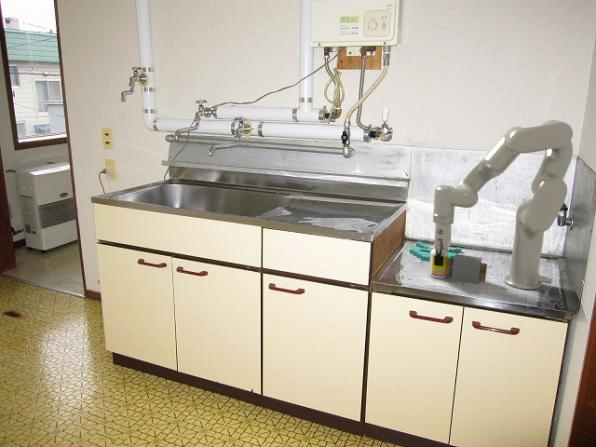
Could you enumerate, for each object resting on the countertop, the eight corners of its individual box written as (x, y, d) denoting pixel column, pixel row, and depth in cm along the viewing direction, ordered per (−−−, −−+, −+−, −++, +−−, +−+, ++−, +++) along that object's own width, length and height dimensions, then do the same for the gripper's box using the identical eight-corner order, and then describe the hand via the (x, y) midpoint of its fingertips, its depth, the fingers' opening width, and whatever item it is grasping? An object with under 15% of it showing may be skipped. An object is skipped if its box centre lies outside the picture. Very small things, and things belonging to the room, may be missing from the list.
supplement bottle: (449, 278, 186) (452, 246, 183) (433, 279, 185) (436, 247, 182) (441, 272, 193) (444, 241, 189) (425, 273, 192) (428, 242, 188)
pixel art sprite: (416, 246, 227) (405, 258, 210) (417, 241, 227) (405, 253, 210) (461, 252, 218) (452, 266, 201) (461, 248, 218) (452, 261, 201)
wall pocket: (479, 280, 185) (481, 257, 183) (478, 284, 181) (480, 261, 178) (453, 276, 189) (455, 254, 187) (451, 280, 184) (453, 257, 182)
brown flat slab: (485, 281, 182) (487, 263, 181) (484, 282, 181) (486, 264, 179) (446, 275, 188) (448, 258, 186) (446, 276, 187) (447, 259, 185)
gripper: (450, 225, 174) (447, 270, 178) (456, 214, 189) (453, 256, 193) (429, 223, 177) (426, 267, 181) (437, 212, 192) (434, 253, 196)
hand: (440, 261), depth 187 cm, fingers open, 9 cm apart
